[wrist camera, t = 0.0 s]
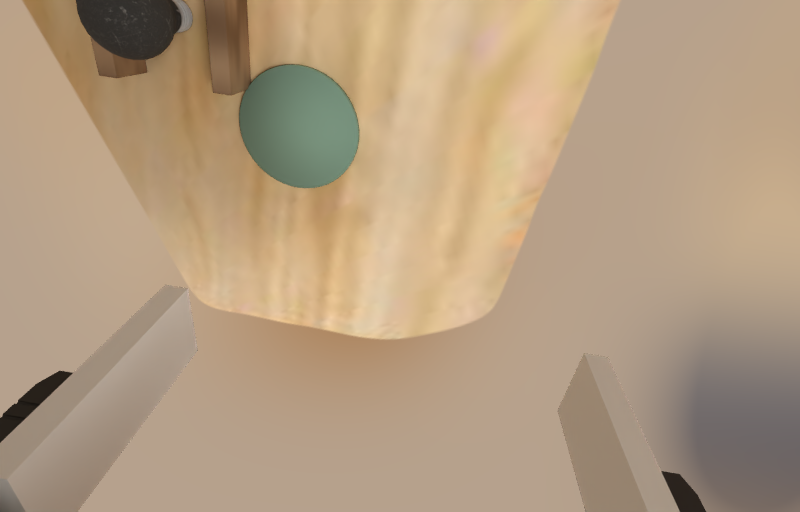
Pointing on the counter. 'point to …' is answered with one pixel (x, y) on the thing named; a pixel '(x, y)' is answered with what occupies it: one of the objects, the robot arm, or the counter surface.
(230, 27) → the pair of wooden planks
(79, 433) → the robot arm
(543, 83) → the counter surface
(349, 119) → the pad
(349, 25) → the counter surface
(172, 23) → the light bulb
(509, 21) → the counter surface
